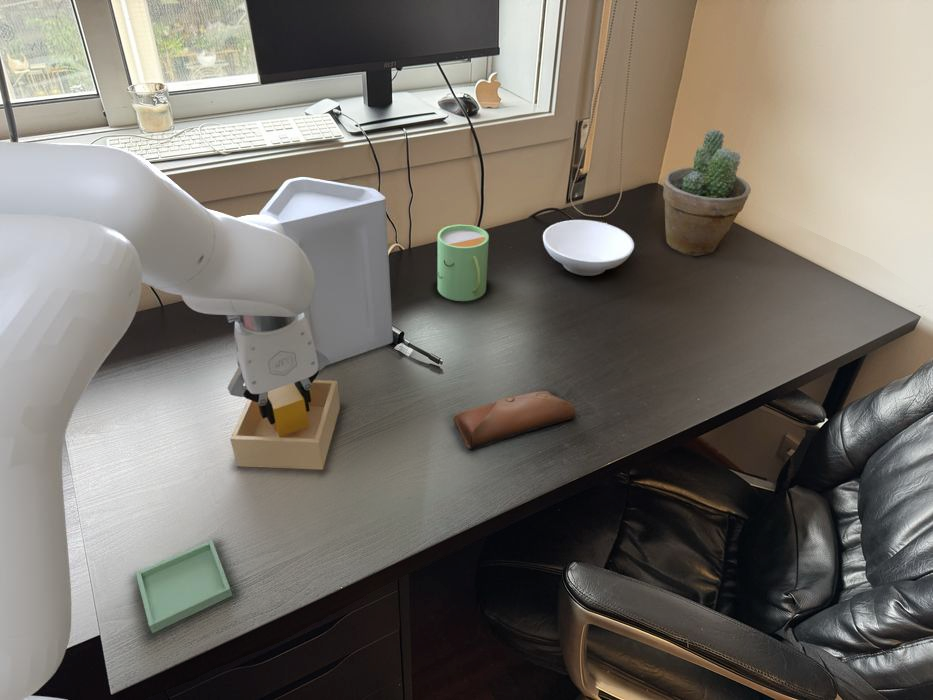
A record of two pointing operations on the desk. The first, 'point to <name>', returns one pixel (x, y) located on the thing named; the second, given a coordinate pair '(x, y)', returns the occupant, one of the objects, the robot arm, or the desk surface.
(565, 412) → the sunglasses case
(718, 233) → the potted plant
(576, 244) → the bowl
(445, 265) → the mug
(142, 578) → the green tray
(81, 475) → the desk surface
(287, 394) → the mustard box
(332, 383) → the sand bin
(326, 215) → the white triangular prism tub
